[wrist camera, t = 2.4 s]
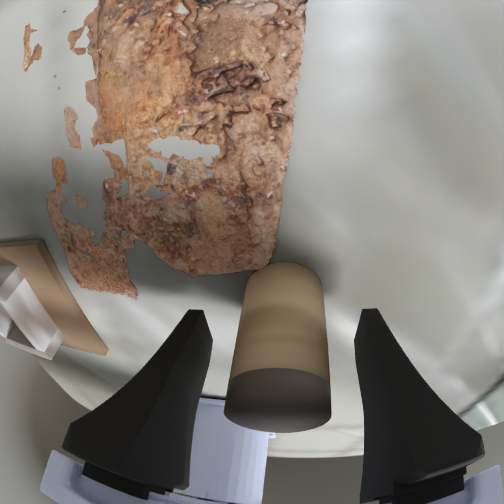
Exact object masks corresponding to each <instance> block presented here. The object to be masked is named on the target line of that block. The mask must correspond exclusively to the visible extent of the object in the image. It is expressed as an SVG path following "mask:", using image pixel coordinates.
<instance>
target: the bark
mask: <svg viewBox="0 0 504 504" xmlns="http://www.w3.org/2000/svg"><path fill="white" fill-rule="evenodd" d="M181 2H182V3H184V6H185V8H186V9H187V10H188V11H189V13H186V14H180V13H176V12H177V10H178V8H179V6H180V4H181ZM307 2H308V0H99V3H98V7H96V8H95V9H94V11H93V12H92V13H90V14H89V15H88V16H87V17H86V19H85V20H84V26H88V28H89V29H90V31H89V32H88V33H87V36H88V37H89V39H90V43H89V45H88V47H87V48H88V54H89V55H91V56H92V59H93V65H94V71H95V74H96V76H97V78H96V79H94V80H90V81H87V82H85V84H86V99H87V101H88V102H89V103H90V104H91V105H92V106H94V107H95V108H96V111H97V116H98V117H97V122H95V124H94V126H93V128H92V130H93V135H94V138H91V141H92V144H93V147H95V145H96V144H97V143H99V144H100V145H101V144H103V143H111V144H112V142H114V141H116V140H118V139H124V140H125V148H126V153H125V154H126V159H127V170H126V169H125V167H124V165H123V163H122V161H121V159H120V157H119V156H117V155H115V154H113V153H112V152H108V151H104V150H103V149H102V150H103V152H104V153H105V154H106V156H107V157H109V159H110V162H111V166H110V167H112V168H113V169H114V170H115V173H114V178H112V179H106V180H104V182H103V197H102V198H103V199H104V201H105V202H106V203H107V204H106V207H107V210H106V211H105V212H104V217H103V218H104V219H105V220H106V221H107V223H106V227H107V228H108V231H109V233H103V235H102V242H101V243H100V244H98V245H97V244H94V243H91V240H90V239H91V238H92V237H94V236H95V232H92V231H91V230H89V229H86V228H85V227H83V226H82V225H81V224H80V223H79V224H78V225H77V226H75V225H73V224H72V223H71V222H70V221H69V220H67V219H65V218H64V216H63V211H62V204H63V203H64V202H66V201H67V200H66V199H65V198H64V197H63V196H61V185H62V183H66V170H65V163H64V160H63V159H61V158H59V157H55V158H53V160H52V170H53V177H54V178H55V179H56V181H57V185H56V189H54V190H53V191H52V192H50V193H49V194H47V195H46V196H47V205H48V213H49V217H50V219H51V221H52V224H53V226H54V228H55V231H56V233H57V235H58V237H59V239H60V242H61V244H62V246H63V248H64V250H65V252H66V256H67V260H68V264H69V268H70V272H71V274H72V275H73V277H74V278H75V280H76V281H77V283H78V284H79V285H80V287H81V288H87V289H89V290H93V289H95V290H99V291H100V292H101V291H105V290H106V291H107V292H108V291H109V292H112V293H113V294H116V293H117V294H118V293H120V294H121V295H124V294H126V295H127V297H131V298H133V299H135V300H137V298H136V296H137V294H136V293H137V291H136V288H135V287H134V286H133V285H132V284H131V283H130V282H129V281H128V280H129V279H130V278H129V274H128V269H127V262H126V257H125V251H124V250H125V249H127V248H129V249H130V248H134V244H135V240H141V241H143V242H144V243H145V244H147V245H148V246H149V247H151V248H152V249H153V250H155V252H156V256H157V257H158V258H159V259H161V260H163V261H164V262H165V263H166V265H167V266H169V267H171V268H174V269H177V270H180V271H181V270H182V271H183V272H186V273H189V274H190V275H192V276H193V277H196V276H197V275H199V274H203V275H206V274H211V275H212V274H215V275H220V274H223V273H228V274H229V273H233V272H241V271H243V270H254V269H255V270H260V269H261V268H263V267H266V265H267V264H268V262H269V259H270V258H272V251H273V250H275V249H274V247H275V244H274V243H273V242H276V237H275V234H276V233H277V227H278V223H279V219H280V214H279V212H280V210H281V209H280V207H281V203H280V201H281V200H282V198H281V186H282V183H283V180H284V177H285V173H286V171H287V169H286V166H287V164H288V157H289V155H288V153H289V152H288V150H289V149H290V144H291V142H290V140H291V135H292V134H291V133H293V127H294V125H293V118H294V114H295V109H294V108H295V105H294V104H293V103H294V98H295V95H298V93H297V88H296V86H295V85H296V84H297V83H298V82H299V81H300V76H299V74H297V73H295V71H297V70H298V69H299V66H300V65H301V60H300V57H301V55H302V53H303V43H304V41H303V38H302V37H301V36H300V35H301V34H302V33H305V25H306V16H305V10H306V6H305V4H306V3H307ZM64 12H66V11H63V13H64ZM169 12H170V13H172V15H171V17H170V16H168V15H167V14H168V13H169ZM170 22H171V23H170ZM273 22H275V23H276V25H274V24H273ZM84 26H83V27H81V28H79V29H77V30H76V31H74V30H73V31H71V32H70V33H69V35H68V41H69V43H70V44H71V45H70V50H72V51H73V52H75V53H76V54H77V55H82V54H85V53H86V48H74V46H75V43H76V41H77V39H78V38H80V36H81V34H82V32H83V30H84ZM164 29H165V30H164ZM177 29H179V30H180V31H179V30H177ZM34 31H38V30H34V29H30V23H29V24H28V25H27V26H25V35H24V46H25V55H24V61H23V68H24V71H25V73H26V71H27V69H28V67H29V66H30V64H32V63H33V60H39V59H40V58H41V52H42V47H41V46H40V45H39V44H37V45H36V46H35V48H34V51H33V55H32V56H31V48H30V46H29V40H30V33H31V32H34ZM55 77H56V75H54V78H55ZM58 89H60V87H59V88H58ZM182 112H183V113H182ZM64 114H65V122H66V127H65V129H66V136H67V138H68V140H69V142H70V147H74V148H79V149H81V144H80V138H79V135H78V133H77V132H76V130H75V122H76V120H77V119H78V116H77V114H76V113H75V111H74V109H73V108H71V107H67V106H66V107H65V109H64ZM183 124H188V125H183ZM152 129H157V132H158V134H157V133H155V132H153V131H152ZM170 136H179V137H180V139H181V140H185V139H187V140H197V141H199V143H200V144H216V145H219V147H220V153H221V154H219V155H216V158H214V157H212V160H213V162H212V164H211V166H205V164H204V162H203V158H200V156H199V158H198V159H195V160H193V161H189V160H186V159H184V158H182V157H179V156H177V155H175V154H173V155H172V156H171V158H170V159H167V158H165V157H163V156H161V151H160V152H159V154H158V153H157V152H155V151H153V150H152V149H150V148H149V147H147V146H148V143H150V142H151V141H153V140H154V139H156V138H158V137H161V138H163V139H165V138H167V137H170ZM149 156H150V157H155V158H159V159H161V160H163V161H165V162H167V172H166V175H165V181H164V185H162V186H161V185H160V184H159V183H157V182H158V181H161V178H162V174H163V173H162V172H159V171H156V170H154V168H153V166H152V164H151V163H150V162H148V161H147V160H146V159H147V158H148V157H149ZM183 157H184V156H183ZM207 172H208V173H210V174H211V175H213V178H208V175H207ZM143 173H145V174H146V175H147V177H145V176H143ZM122 178H126V179H127V180H128V185H129V192H130V193H128V194H127V195H125V196H123V197H118V198H116V194H117V193H118V192H119V191H120V189H121V186H120V185H119V184H118V183H117V181H118V182H120V183H121V184H122V182H121V179H122ZM116 180H117V181H116ZM154 184H155V185H156V186H157V187H158V188H159V189H160V190H161V191H164V192H168V193H171V194H169V195H168V196H166V197H164V198H162V199H158V200H152V199H151V198H150V197H149V196H148V195H147V194H146V192H147V191H148V190H149V189H150V188H151V187H152V186H153V185H154ZM106 188H108V189H111V190H110V191H108V190H107V189H106ZM115 198H116V199H115ZM87 199H88V198H81V197H79V196H78V195H76V197H75V198H74V201H75V203H76V204H77V206H78V207H79V208H80V209H83V210H85V211H86V203H87ZM120 214H122V215H123V218H122V217H121V215H120ZM128 219H129V220H130V221H127V220H128ZM67 230H69V231H70V234H71V242H72V245H71V244H70V243H69V241H68V237H67V234H66V232H67ZM121 230H127V234H126V235H125V236H124V237H123V238H122V237H121ZM114 233H117V234H118V236H119V239H116V238H115V237H114V236H112V234H114ZM169 236H171V237H173V238H174V240H175V242H173V243H170V240H169ZM116 242H118V244H120V245H121V246H119V247H118V246H117V245H116V244H115V243H116ZM83 253H87V254H88V255H89V256H88V255H85V254H83ZM93 257H96V258H97V262H95V260H94V259H93ZM123 260H124V261H125V263H124V262H123Z"/></svg>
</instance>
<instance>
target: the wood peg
mask: <svg viewBox="0 0 504 504" xmlns="http://www.w3.org/2000/svg"><path fill="white" fill-rule="evenodd" d="M224 415H225V417H226V418H227V419H228V420H230V421H231V422H233V423H235V424H237V425H239V426H242V427H245V428H248V429H252V430H257V431H263V432H272V433H292V432H300V431H306V430H310V429H314V428H317V427H319V426H322V425H323V424H325V423H327V422H328V421H329V420H330V418H331V389H330V371H329V356H328V342H327V330H326V319H325V309H324V299H323V290H322V284H321V281H320V280H319V278H318V277H317V275H316V274H315V273H314V272H313V271H311V270H310V269H308V268H306V267H304V266H302V265H299V264H295V263H290V262H277V263H272V264H268V265H266V267H263V268H261V269H260V270H256V271H255V272H254V273H253V274H252V275H251V276H250V277H249V279H248V281H247V284H246V288H245V294H244V300H243V305H242V311H241V316H240V322H239V328H238V333H237V339H236V344H235V350H234V356H233V361H232V367H231V372H230V378H229V384H228V389H227V395H226V400H225V406H224Z"/></svg>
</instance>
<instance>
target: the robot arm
mask: <svg viewBox="0 0 504 504" xmlns="http://www.w3.org/2000/svg"><path fill="white" fill-rule="evenodd" d="M212 343H213V339H212V336H211V333H210V330H209V327H208V324H207V321H206V318H205V315H204V311H203V310H191V309H189V310H188V311H187V312H186V314H185V315H184V316H183V318H182V319H181V321H180V322H179V323H178V325H177V326H176V327H175V329H174V330H173V331H172V333H171V334H170V336H169V337H168V338H167V339H166V341H165V342H164V343H163V344H162V346H161V347H160V348H159V350H158V351H157V352H156V353H155V354H154V355H153V357H152V358H151V359H150V360H149V361H148V362H147V364H146V365H145V366H144V367H143V368H142V369H141V370H140V371H139V372H138V373H137V374H136V375H135V376H134V377H133V378H132V379H131V380H130V381H129V382H128V383H127V384H126V385H125V386H124V387H122V388H121V389H120V390H119V391H118V392H117V393H115V394H114V395H113V396H112V397H111V398H109V399H108V400H106V401H105V402H104V403H102V404H101V405H100V406H98V407H97V408H95V409H94V410H92V411H91V412H89V413H88V414H86V415H84V416H83V417H81V418H79V419H78V420H76V421H74V422H72V423H71V424H70V426H69V428H68V431H67V434H66V436H65V439H64V442H63V445H62V448H63V449H64V450H65V451H67V452H69V453H71V454H73V455H75V456H76V457H78V458H80V459H82V460H84V461H86V462H85V465H82V464H80V463H78V462H76V461H74V460H72V459H70V458H68V457H66V456H64V455H62V454H61V453H59V452H57V451H55V450H52V452H51V455H50V458H49V461H48V464H47V467H46V471H45V473H44V476H43V480H42V483H41V486H40V490H41V491H42V492H43V493H45V494H46V495H47V496H49V497H50V498H52V499H53V500H55V501H56V502H58V503H59V504H261V502H262V494H263V485H264V475H265V466H266V457H267V447H268V438H275V437H276V433H272V432H263V431H257V430H252V429H248V428H245V427H242V426H239V425H237V424H235V423H233V422H231V421H230V420H228V419H227V418H226V417H225V415H224V406H225V400H217V399H207V398H200V396H201V392H202V389H203V385H204V381H205V378H206V374H207V370H208V367H209V363H210V357H211V350H212ZM354 345H355V360H356V367H357V373H358V379H359V385H360V391H361V397H362V403H363V411H364V461H363V474H362V483H361V491H360V504H361V503H367V502H373V501H379V504H503V494H502V480H501V471H500V465H499V464H498V465H496V466H494V467H492V468H490V469H487V470H486V471H483V472H481V473H479V474H477V475H474V476H472V477H469V478H467V479H465V480H464V479H463V475H464V474H466V472H467V471H466V466H468V465H470V464H472V463H474V462H476V461H477V460H479V459H481V458H483V457H484V455H485V451H484V444H483V440H482V436H481V435H480V434H479V433H477V432H476V431H475V430H474V429H473V428H471V427H470V426H469V425H468V424H466V423H465V422H464V421H463V420H462V419H461V418H460V417H458V416H457V415H456V414H455V413H454V412H453V411H452V410H451V409H450V408H449V407H448V406H447V405H446V404H445V403H444V402H443V401H442V400H441V399H440V398H439V397H438V396H437V394H436V393H435V392H434V391H433V390H432V389H431V388H430V386H429V385H428V384H427V383H426V381H425V380H424V379H423V378H422V376H421V375H420V374H419V372H418V371H417V370H416V368H415V367H414V366H413V364H412V363H411V361H410V360H409V359H408V357H407V356H406V354H405V353H404V351H403V350H402V348H401V347H400V345H399V343H398V342H397V340H396V339H395V337H394V336H393V334H392V332H391V331H390V329H389V327H388V326H387V324H386V322H385V321H384V319H383V317H382V316H381V314H380V312H379V310H378V309H377V308H375V309H362V312H361V316H360V320H359V324H358V328H357V331H356V335H355V339H354ZM165 491H168V492H172V493H173V492H174V493H178V494H182V495H186V496H190V497H195V498H197V499H194V498H189V497H184V496H180V495H175V494H172V493H170V496H169V497H168V496H164V494H165Z"/></svg>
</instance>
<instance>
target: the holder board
mask: <svg viewBox="0 0 504 504" xmlns="http://www.w3.org/2000/svg"><path fill="white" fill-rule="evenodd" d="M0 335H1V336H2V337H3V338H4V339H5V341H6V342H7V343H8V344H11V345H13V346H15V347H17V348H20V349H22V350H25V351H27V352H30V353H33V354H35V355H38V356H41V357H43V358H46V359H49V360H52V359H53V357H54V355H55V353H56V351H57V350H58V348H59V346H60V345H63V346H66V347H70V348H74V349H78V350H82V351H86V352H90V353H95V354H99V355H104V356H106V354H107V352H108V348H107V347H106V346H105V344H104V343H103V341H102V340H101V339H100V337H99V336H98V334H97V333H96V331H95V330H94V328H93V327H92V326H91V324H90V323H89V321H88V320H87V318H86V316H85V315H84V313H83V312H82V310H81V309H80V307H79V305H78V304H77V302H76V301H75V299H74V297H73V296H72V294H71V292H70V291H69V289H68V287H67V285H66V284H65V282H64V280H63V278H62V277H61V275H60V273H59V271H58V269H57V267H56V266H55V264H54V262H53V260H52V258H51V256H50V254H49V252H48V250H47V248H46V246H45V244H44V242H43V239H35V240H24V241H13V242H3V243H0Z"/></svg>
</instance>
